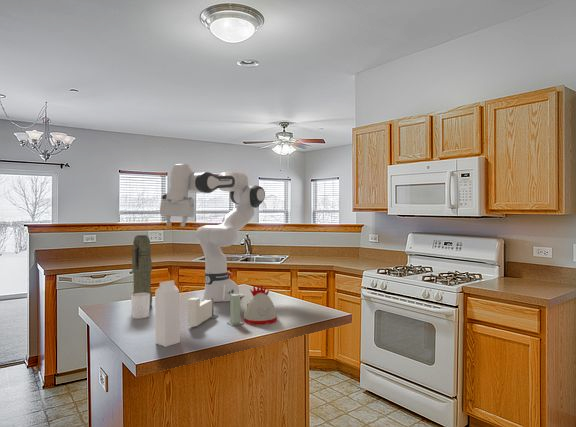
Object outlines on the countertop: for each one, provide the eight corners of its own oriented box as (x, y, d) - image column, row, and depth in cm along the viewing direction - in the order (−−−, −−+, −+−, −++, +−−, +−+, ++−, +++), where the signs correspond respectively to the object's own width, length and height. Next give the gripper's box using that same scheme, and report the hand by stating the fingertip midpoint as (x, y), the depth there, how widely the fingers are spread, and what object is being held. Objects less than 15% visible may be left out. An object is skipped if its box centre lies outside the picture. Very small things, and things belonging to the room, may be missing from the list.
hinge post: (211, 314, 184) (211, 296, 184) (220, 316, 180) (220, 298, 180) (201, 317, 179) (200, 299, 179) (210, 319, 175) (209, 301, 175)
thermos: (127, 310, 193) (126, 236, 192) (140, 304, 204) (139, 234, 204) (144, 310, 191) (143, 236, 191) (156, 305, 203) (156, 234, 202)
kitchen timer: (240, 317, 178) (240, 283, 178) (270, 314, 183) (270, 281, 183) (248, 326, 165) (248, 289, 165) (280, 322, 170) (280, 286, 170)
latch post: (227, 323, 169) (226, 294, 169) (237, 321, 172) (237, 293, 172) (232, 326, 165) (232, 296, 165) (243, 324, 168) (243, 295, 168)
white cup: (130, 319, 176) (130, 296, 176) (132, 315, 183) (132, 293, 183) (149, 318, 178) (149, 295, 178) (150, 314, 186) (150, 292, 185)
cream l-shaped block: (205, 315, 178) (204, 291, 178) (212, 316, 177) (212, 292, 177) (188, 325, 163) (187, 299, 162) (196, 326, 162) (195, 299, 162)
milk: (179, 342, 145) (179, 281, 145) (165, 347, 140) (164, 283, 140) (169, 339, 149) (169, 279, 149) (155, 343, 144) (154, 281, 144)
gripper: (198, 197, 192) (196, 227, 191) (169, 197, 203) (166, 225, 202) (188, 196, 186) (185, 226, 185) (158, 196, 197) (156, 224, 196)
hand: (175, 225), depth 194 cm, fingers open, 8 cm apart
